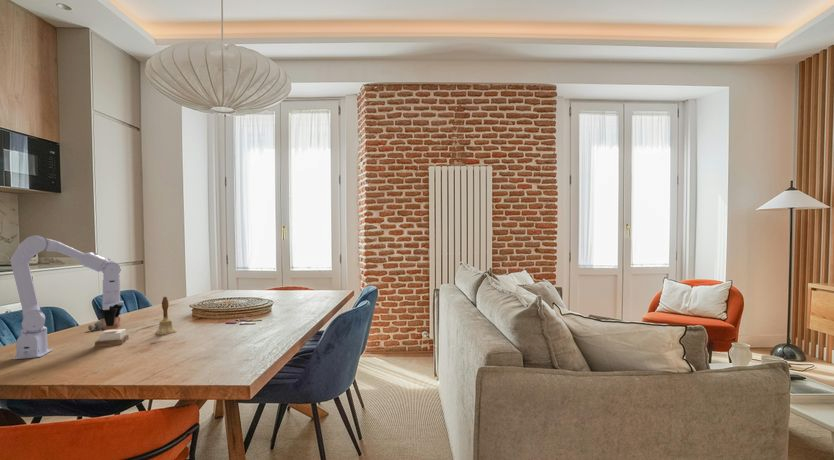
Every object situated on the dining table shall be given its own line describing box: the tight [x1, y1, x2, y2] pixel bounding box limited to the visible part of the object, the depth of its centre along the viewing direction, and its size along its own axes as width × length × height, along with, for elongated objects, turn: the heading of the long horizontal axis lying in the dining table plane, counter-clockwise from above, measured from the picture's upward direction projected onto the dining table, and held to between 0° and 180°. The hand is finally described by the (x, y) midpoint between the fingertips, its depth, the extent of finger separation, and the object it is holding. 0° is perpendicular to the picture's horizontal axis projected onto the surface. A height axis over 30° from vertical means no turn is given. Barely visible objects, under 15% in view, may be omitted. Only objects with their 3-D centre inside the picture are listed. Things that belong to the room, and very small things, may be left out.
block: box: [103, 316, 121, 331], centre depth 170 cm, size 4×4×4 cm
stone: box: [87, 318, 104, 332], centre depth 195 cm, size 10×5×8 cm
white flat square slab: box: [98, 328, 127, 341], centre depth 171 cm, size 7×7×2 cm
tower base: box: [94, 333, 130, 348], centre depth 170 cm, size 9×9×2 cm
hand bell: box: [154, 296, 177, 336], centre depth 187 cm, size 8×8×16 cm
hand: (112, 324), depth 170 cm, fingers closed on block, 4 cm apart
